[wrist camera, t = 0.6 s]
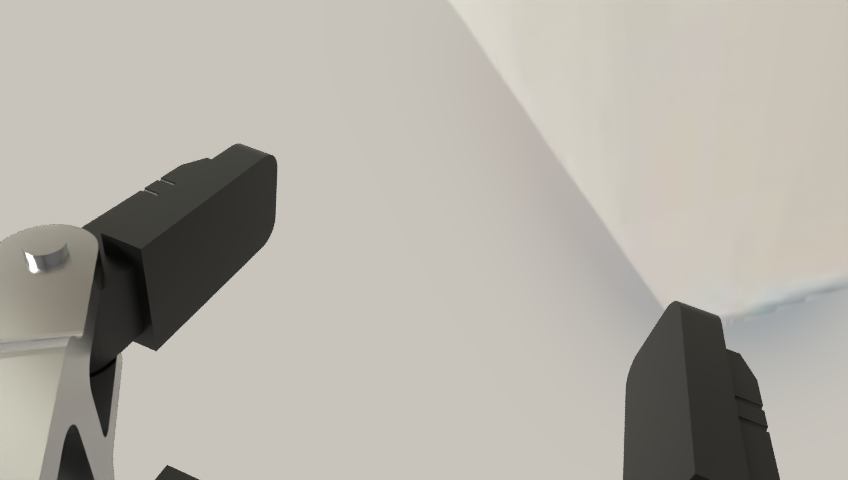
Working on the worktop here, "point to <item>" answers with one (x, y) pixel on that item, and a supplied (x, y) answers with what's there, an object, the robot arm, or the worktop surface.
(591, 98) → the worktop surface
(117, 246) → the robot arm
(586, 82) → the worktop surface
